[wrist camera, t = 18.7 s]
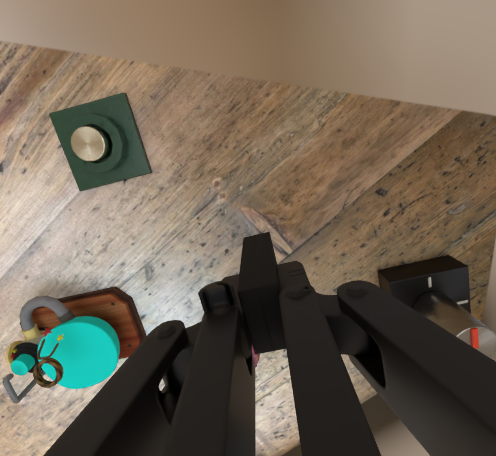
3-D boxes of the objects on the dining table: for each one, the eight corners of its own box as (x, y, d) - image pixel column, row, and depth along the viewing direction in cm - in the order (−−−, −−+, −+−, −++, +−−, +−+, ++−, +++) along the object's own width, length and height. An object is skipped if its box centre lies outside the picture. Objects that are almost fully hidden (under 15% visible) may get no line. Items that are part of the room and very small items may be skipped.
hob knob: (452, 320, 41) (501, 363, 33) (415, 327, 41) (454, 372, 33) (449, 287, 39) (499, 324, 31) (411, 295, 40) (450, 333, 32)
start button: (104, 123, 36) (97, 122, 35) (116, 156, 37) (109, 156, 36) (73, 131, 37) (65, 131, 35) (86, 164, 38) (78, 165, 36)
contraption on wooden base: (8, 293, 45) (-108, 365, 31) (121, 269, 44) (55, 331, 29) (46, 370, 49) (-42, 466, 34) (151, 349, 47) (106, 441, 33)
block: (126, 93, 37) (117, 89, 35) (152, 172, 40) (145, 174, 38) (52, 114, 38) (38, 112, 36) (82, 190, 41) (71, 193, 38)
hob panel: (448, 254, 42) (469, 266, 38) (453, 315, 45) (473, 332, 41) (377, 270, 43) (390, 283, 39) (386, 329, 46) (398, 347, 42)
